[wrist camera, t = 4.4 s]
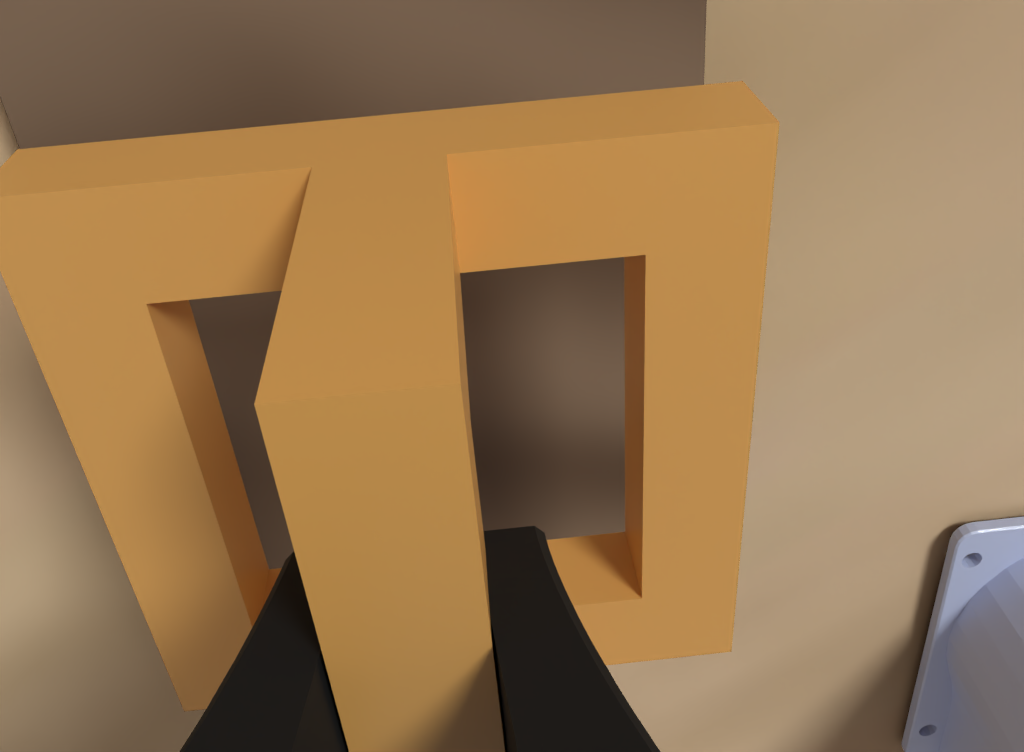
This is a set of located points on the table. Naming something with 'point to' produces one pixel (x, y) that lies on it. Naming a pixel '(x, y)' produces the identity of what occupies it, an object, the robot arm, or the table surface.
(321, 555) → the link
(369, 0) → the walnut board
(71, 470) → the table surface
